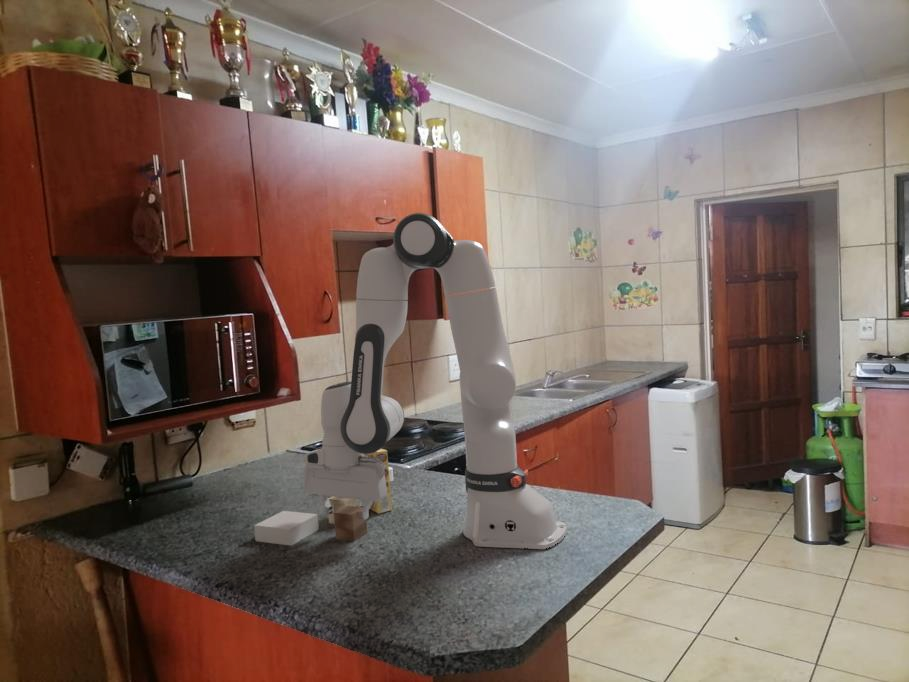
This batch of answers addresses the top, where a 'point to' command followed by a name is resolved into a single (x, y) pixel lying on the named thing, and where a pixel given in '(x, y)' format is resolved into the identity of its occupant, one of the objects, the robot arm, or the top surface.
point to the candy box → (386, 503)
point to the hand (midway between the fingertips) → (346, 516)
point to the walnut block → (349, 524)
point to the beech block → (340, 505)
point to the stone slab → (286, 527)
